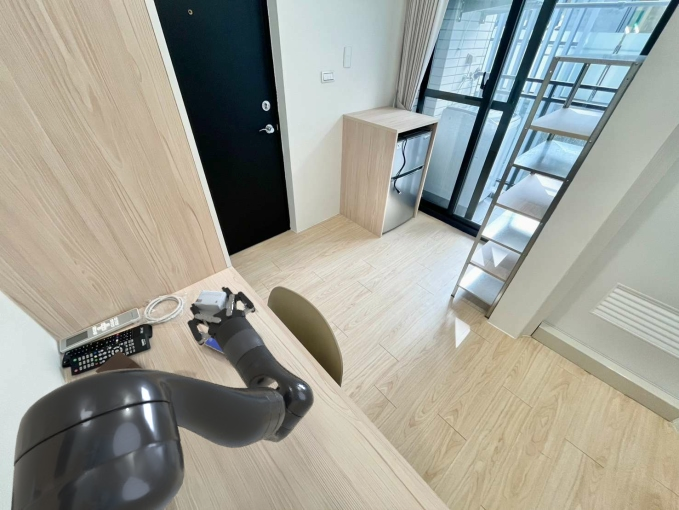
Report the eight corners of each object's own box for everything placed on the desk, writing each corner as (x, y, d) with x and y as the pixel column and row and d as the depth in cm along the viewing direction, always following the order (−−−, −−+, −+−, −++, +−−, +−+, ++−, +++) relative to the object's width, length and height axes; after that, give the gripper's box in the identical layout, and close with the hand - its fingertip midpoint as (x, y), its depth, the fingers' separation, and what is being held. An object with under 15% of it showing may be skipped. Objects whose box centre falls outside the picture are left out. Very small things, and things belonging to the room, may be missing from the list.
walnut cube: (121, 390, 68) (110, 382, 64) (106, 379, 70) (94, 371, 66) (143, 369, 72) (133, 360, 68) (128, 359, 74) (118, 350, 70)
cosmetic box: (239, 318, 73) (226, 290, 65) (233, 333, 70) (219, 305, 61) (217, 317, 73) (202, 288, 65) (210, 331, 70) (193, 303, 62)
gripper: (267, 314, 58) (232, 272, 67) (201, 357, 51) (171, 304, 60) (273, 332, 63) (239, 291, 72) (214, 374, 56) (185, 322, 65)
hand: (208, 297), depth 66 cm, fingers closed on cosmetic box, 7 cm apart
